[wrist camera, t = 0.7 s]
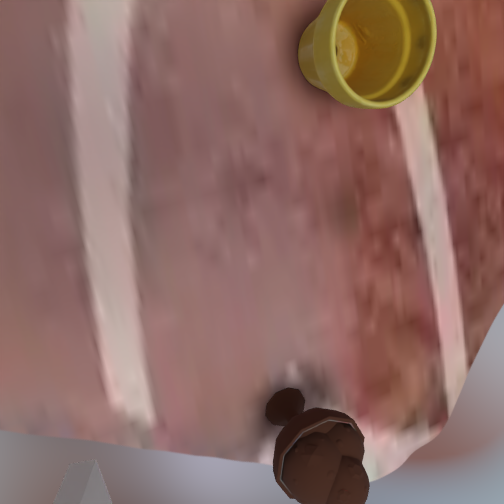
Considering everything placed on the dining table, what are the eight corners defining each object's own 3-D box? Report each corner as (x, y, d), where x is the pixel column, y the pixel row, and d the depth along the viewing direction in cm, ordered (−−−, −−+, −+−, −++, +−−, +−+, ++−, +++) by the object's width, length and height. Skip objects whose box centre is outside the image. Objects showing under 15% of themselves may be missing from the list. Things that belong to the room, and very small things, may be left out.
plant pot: (271, 0, 40) (326, -28, 32) (366, -11, 43) (439, -39, 35) (285, 115, 44) (337, 119, 36) (371, 98, 47) (438, 97, 39)
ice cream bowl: (327, 363, 57) (404, 443, 43) (314, 435, 60) (383, 529, 47) (251, 373, 53) (311, 464, 39) (242, 449, 56) (294, 557, 43)
